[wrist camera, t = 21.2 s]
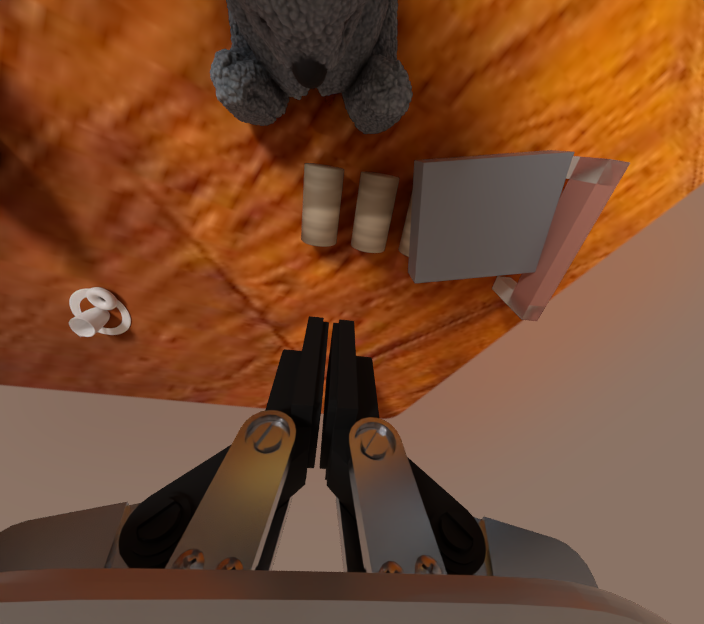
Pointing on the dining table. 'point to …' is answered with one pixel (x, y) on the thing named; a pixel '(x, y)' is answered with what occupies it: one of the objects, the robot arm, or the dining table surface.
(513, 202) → the slab
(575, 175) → the pink u-shaped frame
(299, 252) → the dining table surface
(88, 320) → the white looped ring piece
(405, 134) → the dining table surface
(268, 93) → the koala plush
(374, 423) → the robot arm
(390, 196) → the track
